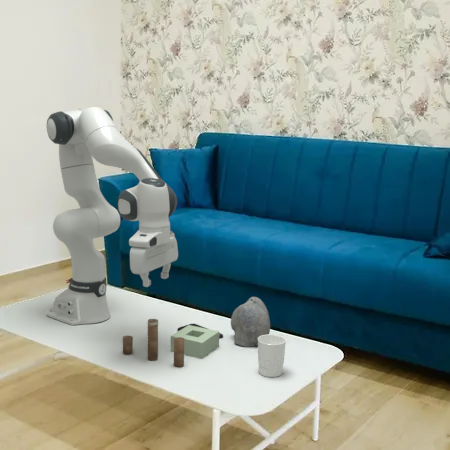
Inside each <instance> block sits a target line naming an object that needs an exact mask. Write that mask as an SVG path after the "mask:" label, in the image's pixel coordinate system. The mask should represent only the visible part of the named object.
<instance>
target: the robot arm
mask: <svg viewBox="0 0 450 450" xmlns="http://www.w3.org/2000/svg"><path fill="white" fill-rule="evenodd" d="M46 131H47V132H46V133H47V135H48V138H49V140H51V142H53V144H56V145H58V160H59V168H60V172H61V178H62V184H63V189H64V191H65V194H67V195H68V196H69V197H72V198H73V199H74V200H75V201H76V202H77V203H78V205H79V206H78V207H79V208H73V209H69V210H66V211H64V212H60V213H58V214H57V215H56V216H55V218H54V220H53V223H52V229H53V234H54V235H55V237H56V238H57V239H58V241H60V242H62V243H63V244H64V245H65V246H66V248H67V250H68V252H69V255H70V259H71V270H72V271H71V273H72V274H71V275H72V276H71V278H69V279H66V280H65V281H66V284H68V288H66V289H64V290H63V292H61V293H60V294H58V295H57V296H55V298H54V300H53V305H52V308H50V309H49V310H47V312H46V316H47V317H49V318H51V319H54V320H57V321H60V322H63V323H65V324H69V325H71V326H77V325H86V324H90V325H91V324H96V323H97V324H98V323H101V322H105V321H106V320H108V319H110V317H111V314H110V311H109V306H108V300H107V293H106V292H107V277H106V262H105V261H106V258H105V255H104V253H102V252H101V251H100V250H98V249H96V248H95V244H94V239H98V238H102V237H103V238H104V237H106V236H108V235H111V234H112V233H115V232H116V231H118V229H119V228H120V225H121V218H122V219H124V220H125V221H129V222H137V221H138V223H139V224H138V230H137V231H136V232H135V233H134V234H133V235H132V236H131V237H130V238H129V240H128V245H129V247H131V248H130V250H129V269H130V271H131V273H132V274H134V275H139V276H140V278H141V280H142V286H143V287H145V288H148V287H151V285H152V280H151V279H150V278H149V275H150V272H153V271H154V270H156V269H160V268H162V271H161V272H160V278H161V279H163V280H166V279H169V272H170V270H171V265H172V264H171V263H173V262H176V261H177V260H178V258H179V250H178V249H179V248H178V241H177V239H176V236H175V233H174V232H173V230H171V222H170V219H169V218H170V217H171V216H172V215H173V214H174V212H175V210H176V208H177V206H178V198H177V195H176V192H175V191H174V190H173V188H172V187H171V186H170V185H169V184H168V183H166V182H165V180H164V179H162V177H161V176H160V174H159V173H158V172H157V170H155V168H154V167H153V165H152V164H151V163H150V161H149V160H148V159H147V157H146V156H145V155H144V154H143V152H142V151H140V149H138V148H137V147H135V146H133V144H131V142H129V141H128V140H127V139H126V138H125V137H124V136H123V134H121V133H120V130H119V129H118V126H117V125H116V123H115V121H114V118H113V116H112V115H111V113H110V112H109V111H108V110H106V109H103V108H101V107H100V106H90V107H87V108H77V109H72V110H65V111H56V112H53V113H51V114H50V115H49V116H48V118H47V120H46ZM93 159H94V160H95V161H96V162H98V163H99V164H102V165H105V166H108V167H113V168H114V167H115V168H119V169H123V170H125V171H129V172H130V173H132V174H134V175H135V177H137V179H138V181H139V182H138V183H137V185H135V186H133V187H130V188H127V189H124V190H122V191H121V192H120V193H119V196H118V198H117V203H116V205H117V206H116V207H117V209H116V208H115V207H114V206H113V205H111V204H110V202H108V201H107V199H106V198H105V196H104V195H103V193H102V192H101V189H100V187H99V182H98V179H97V174H96V169H95V165H94V160H93Z"/></svg>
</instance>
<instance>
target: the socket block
mask: <svg viewBox="0 0 450 450" xmlns="http://www.w3.org/2000/svg"><path fill="white" fill-rule="evenodd" d="M187 325H188V326H186V327H185V328H183V329H181V330H180V331H178V330H177V332H175V333H173V334H171V335H170V352H172V353H174V338H177V337H181V338H184V356H187V357H188V356H189V357H194V358H197V359H204V358H205V357H206V356H207V355H209V354H210V353H212V352H214V351H215V350H216V349H218V348H219V347H220V339H219V333H220V331H219V330H215V329H209V328H207V327H205V328H201V327H196V326H191V325H189V324H187ZM206 328H207V329H206Z"/></svg>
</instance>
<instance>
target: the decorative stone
mask: <svg viewBox="0 0 450 450" xmlns="http://www.w3.org/2000/svg"><path fill="white" fill-rule="evenodd" d="M230 327H231V329H232V331H233V332H234V343H235V344H236V345H238V346H240V347H243V348H244V347H245V348H249V347H253V346H258V337H260V336H262V335H267V334H270V332H271V320H270V314H269V310H268V308H267V306H266V304H265V303H264V301H262V299H261V298H259V297H257V296H251V297H250V298H248V299H247V301H245V303H243V304H240V305H239V306H238V307H236V308H235V309H234V311H233V312H232V315H231V317H230Z"/></svg>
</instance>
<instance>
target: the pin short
mask: <svg viewBox="0 0 450 450" xmlns="http://www.w3.org/2000/svg"><path fill="white" fill-rule="evenodd" d="M133 337H134V336H133V335H124V336H122V354H123V355H125V356H130V355H132V354H133V353H134V346H133V345H134V340H133Z"/></svg>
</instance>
